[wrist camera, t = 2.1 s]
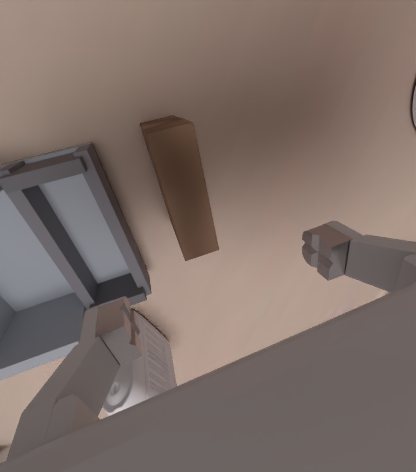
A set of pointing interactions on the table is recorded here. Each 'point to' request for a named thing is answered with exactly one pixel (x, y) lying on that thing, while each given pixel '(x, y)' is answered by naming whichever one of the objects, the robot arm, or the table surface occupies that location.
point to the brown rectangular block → (182, 183)
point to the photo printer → (143, 372)
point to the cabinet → (59, 254)
